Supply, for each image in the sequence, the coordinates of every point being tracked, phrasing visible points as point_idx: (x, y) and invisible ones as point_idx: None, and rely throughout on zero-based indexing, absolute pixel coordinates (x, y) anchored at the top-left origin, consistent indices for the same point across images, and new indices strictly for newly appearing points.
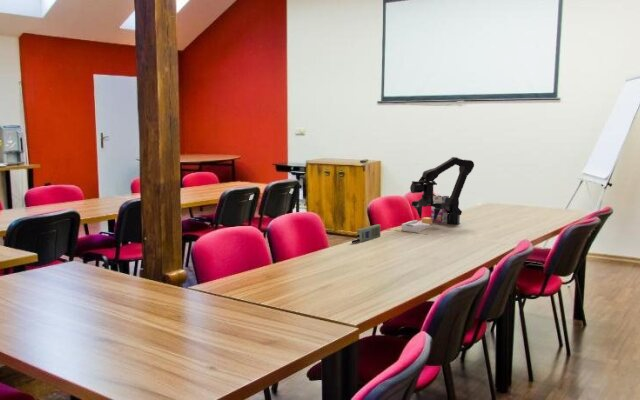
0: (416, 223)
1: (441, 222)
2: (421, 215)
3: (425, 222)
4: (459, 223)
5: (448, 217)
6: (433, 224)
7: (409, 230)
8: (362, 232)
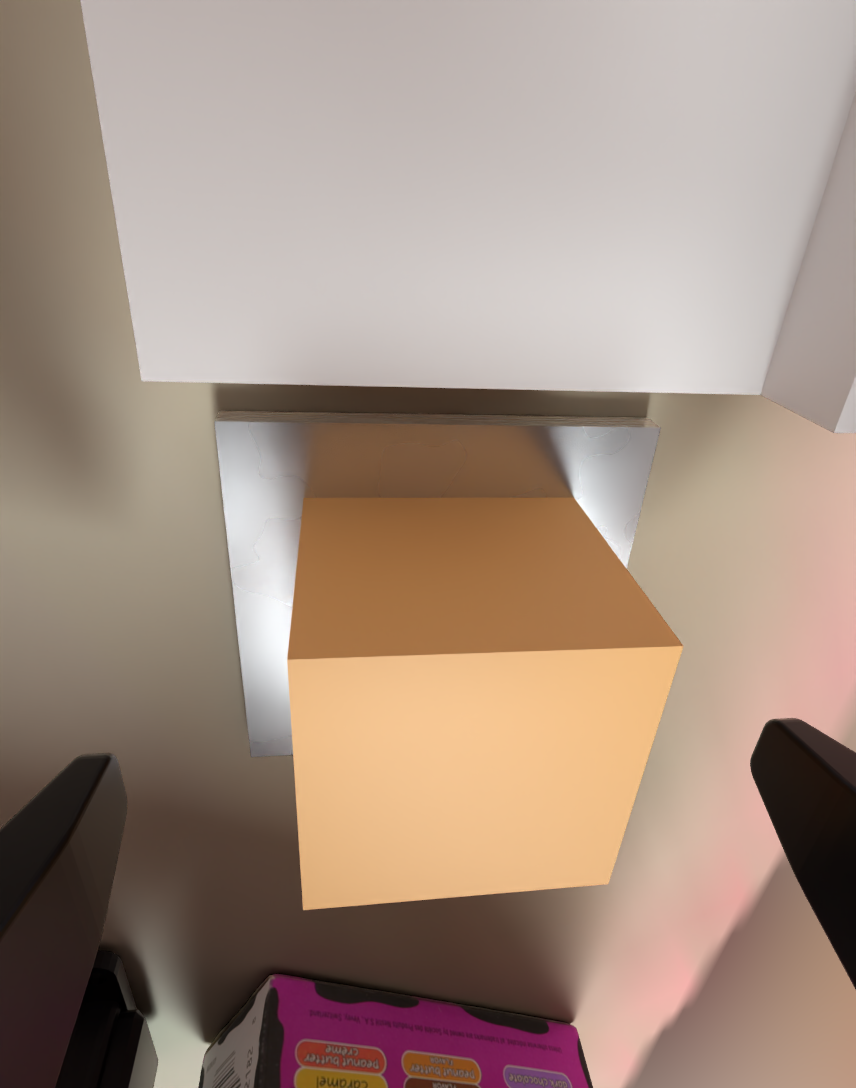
0: (773, 123)
1: (277, 988)
2: (801, 885)
3: (461, 548)
4: None
5: None
6: None
7: None
8: None
